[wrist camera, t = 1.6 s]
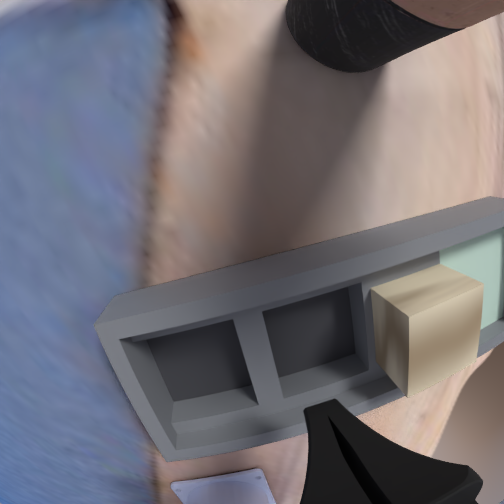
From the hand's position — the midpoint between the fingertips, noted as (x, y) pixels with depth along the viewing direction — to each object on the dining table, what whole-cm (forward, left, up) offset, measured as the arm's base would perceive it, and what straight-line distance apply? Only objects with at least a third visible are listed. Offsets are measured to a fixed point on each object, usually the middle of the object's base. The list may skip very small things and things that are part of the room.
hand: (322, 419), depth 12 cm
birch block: (0, -7, -6) cm, 9 cm away
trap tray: (0, -4, -8) cm, 9 cm away
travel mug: (+18, -8, -8) cm, 21 cm away
